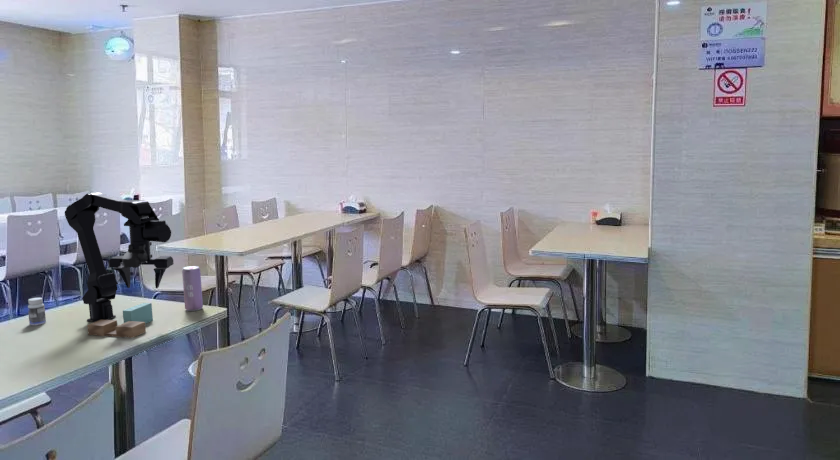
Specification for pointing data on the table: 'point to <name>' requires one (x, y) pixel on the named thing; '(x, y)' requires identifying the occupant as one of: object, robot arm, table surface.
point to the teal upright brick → (139, 313)
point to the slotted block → (116, 328)
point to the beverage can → (192, 288)
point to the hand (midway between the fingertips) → (142, 288)
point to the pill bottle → (36, 311)
